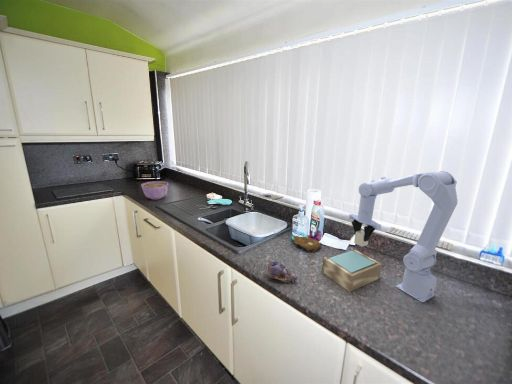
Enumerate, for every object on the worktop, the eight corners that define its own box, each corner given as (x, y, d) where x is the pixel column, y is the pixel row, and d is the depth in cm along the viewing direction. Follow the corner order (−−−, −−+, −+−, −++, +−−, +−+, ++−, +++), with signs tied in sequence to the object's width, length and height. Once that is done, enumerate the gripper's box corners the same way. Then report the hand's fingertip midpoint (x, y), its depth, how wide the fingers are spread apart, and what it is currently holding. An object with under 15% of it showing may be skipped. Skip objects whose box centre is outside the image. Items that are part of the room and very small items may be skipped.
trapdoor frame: (321, 271, 98) (323, 257, 96) (350, 261, 106) (352, 247, 104) (349, 291, 86) (352, 276, 84) (379, 278, 94) (382, 263, 93)
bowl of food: (174, 198, 189) (173, 184, 186) (149, 203, 175) (147, 188, 172) (162, 193, 202) (161, 180, 199) (138, 197, 188) (136, 183, 185)
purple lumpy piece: (299, 279, 93) (301, 265, 91) (291, 290, 87) (292, 275, 85) (272, 269, 99) (273, 255, 97) (263, 278, 93) (263, 264, 91)
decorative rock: (286, 244, 121) (312, 257, 111) (286, 237, 120) (312, 249, 110) (298, 236, 129) (324, 247, 119) (299, 230, 127) (325, 240, 118)
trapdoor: (328, 260, 96) (328, 258, 96) (351, 252, 103) (352, 250, 103) (350, 274, 87) (351, 272, 87) (375, 265, 94) (375, 262, 93)
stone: (367, 244, 106) (369, 233, 105) (361, 246, 104) (363, 235, 103) (360, 241, 110) (361, 230, 108) (354, 242, 108) (355, 231, 106)
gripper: (387, 213, 99) (382, 243, 102) (357, 203, 111) (354, 230, 114) (376, 216, 95) (371, 247, 99) (347, 205, 107) (343, 233, 111)
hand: (361, 238), depth 106 cm, fingers closed on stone, 4 cm apart
